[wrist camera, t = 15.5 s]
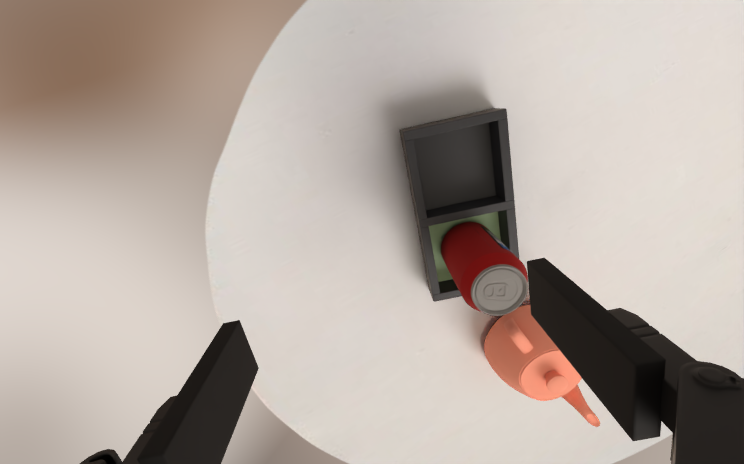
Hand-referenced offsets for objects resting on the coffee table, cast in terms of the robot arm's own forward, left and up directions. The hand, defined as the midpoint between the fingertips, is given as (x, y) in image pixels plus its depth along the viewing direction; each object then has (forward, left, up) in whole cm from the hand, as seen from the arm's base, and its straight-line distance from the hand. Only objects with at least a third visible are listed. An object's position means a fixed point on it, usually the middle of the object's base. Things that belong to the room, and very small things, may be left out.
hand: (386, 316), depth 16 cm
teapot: (+27, +17, -29) cm, 43 cm away
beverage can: (+10, +10, -28) cm, 31 cm away
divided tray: (+5, +10, -29) cm, 31 cm away
